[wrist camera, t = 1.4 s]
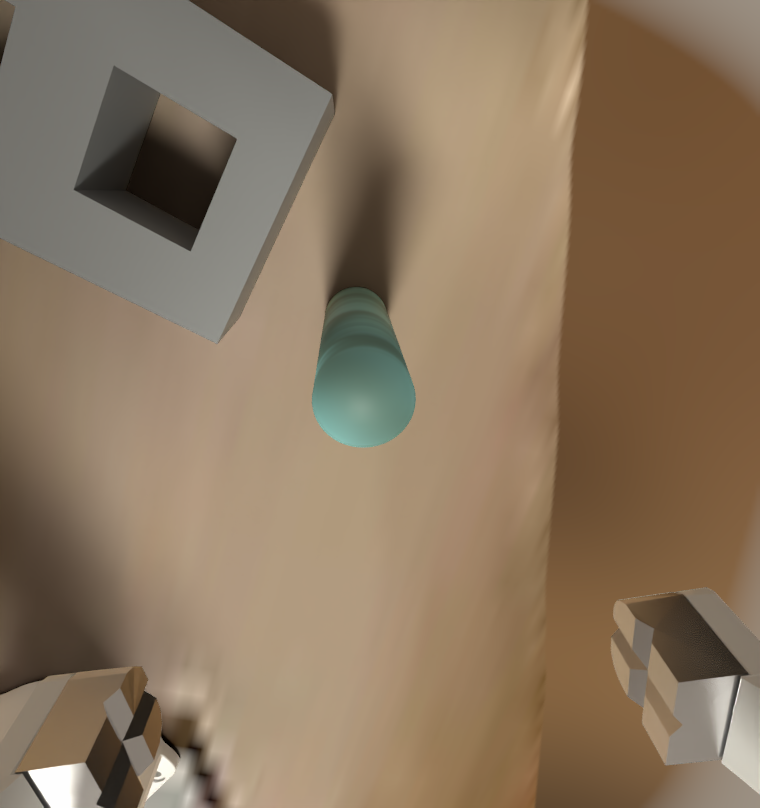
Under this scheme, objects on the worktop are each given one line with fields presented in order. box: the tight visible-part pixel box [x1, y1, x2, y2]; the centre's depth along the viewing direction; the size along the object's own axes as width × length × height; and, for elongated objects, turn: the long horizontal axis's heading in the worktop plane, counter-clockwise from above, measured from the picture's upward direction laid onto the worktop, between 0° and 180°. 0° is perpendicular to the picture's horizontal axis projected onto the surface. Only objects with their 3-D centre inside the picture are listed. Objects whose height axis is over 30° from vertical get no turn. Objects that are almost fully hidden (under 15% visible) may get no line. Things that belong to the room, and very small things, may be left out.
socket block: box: [0, 0, 335, 344], centre depth 25 cm, size 13×21×6 cm, turn 60°
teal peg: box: [312, 287, 416, 447], centre depth 26 cm, size 4×4×14 cm
